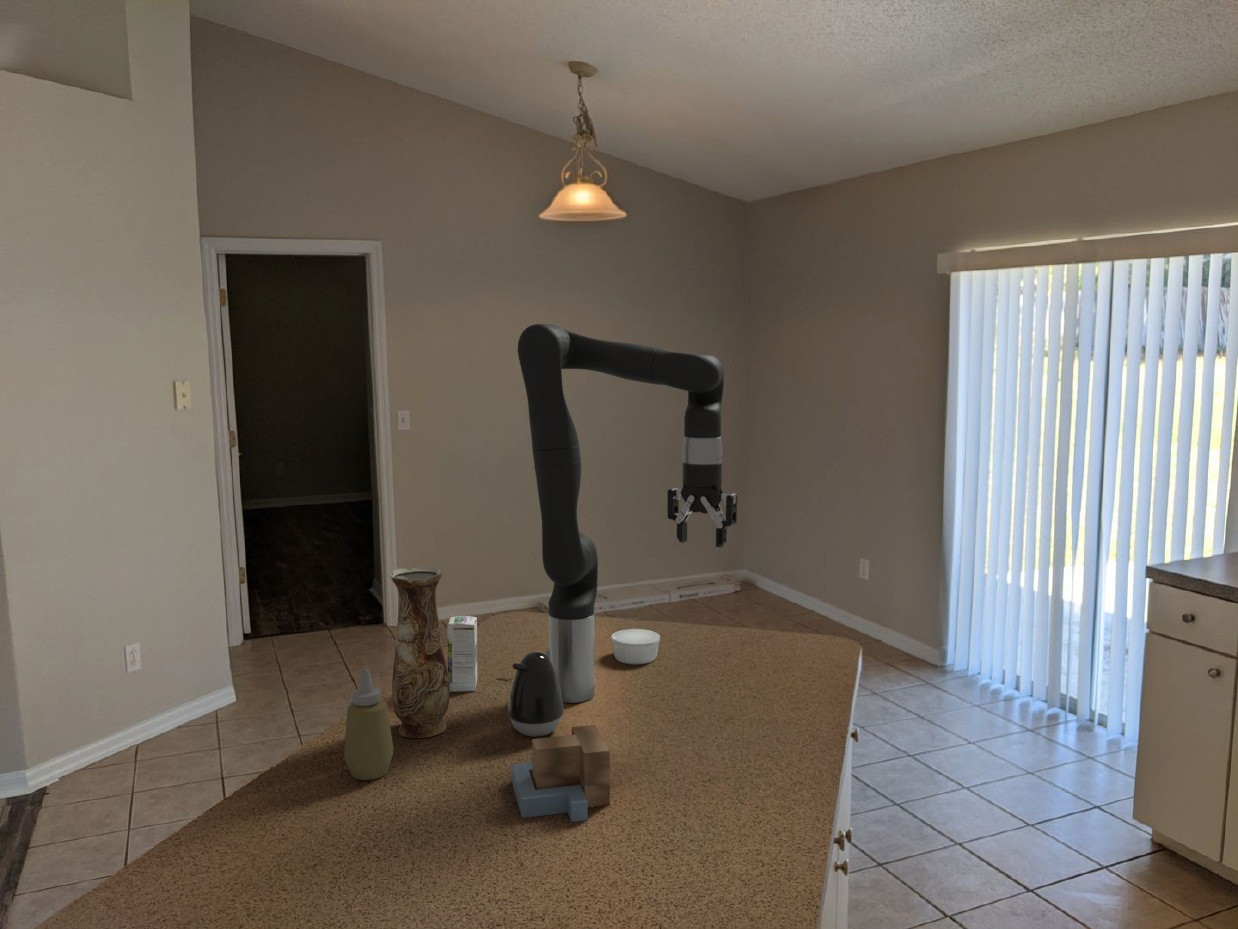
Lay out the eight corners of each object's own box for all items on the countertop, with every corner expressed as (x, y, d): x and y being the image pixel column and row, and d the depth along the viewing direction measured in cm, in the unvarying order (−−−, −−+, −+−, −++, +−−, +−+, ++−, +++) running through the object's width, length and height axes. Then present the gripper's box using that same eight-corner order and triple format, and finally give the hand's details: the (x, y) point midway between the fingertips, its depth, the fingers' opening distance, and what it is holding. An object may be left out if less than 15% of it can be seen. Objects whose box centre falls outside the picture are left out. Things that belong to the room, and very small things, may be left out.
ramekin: (614, 649, 219) (614, 627, 218) (662, 651, 217) (662, 629, 216) (607, 665, 208) (607, 642, 207) (657, 668, 206) (657, 645, 205)
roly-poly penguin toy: (496, 732, 173) (495, 653, 170) (538, 715, 180) (537, 639, 178) (533, 748, 166) (532, 666, 164) (575, 730, 173) (574, 651, 171)
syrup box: (450, 682, 197) (448, 616, 195) (478, 681, 198) (477, 615, 196) (447, 692, 192) (445, 624, 190) (476, 691, 192) (475, 623, 190)
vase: (399, 744, 167) (393, 582, 163) (388, 722, 177) (383, 568, 173) (456, 734, 171) (452, 576, 167) (443, 713, 181) (438, 563, 177)
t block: (595, 776, 155) (595, 724, 154) (609, 805, 146) (609, 750, 145) (530, 783, 153) (529, 731, 151) (540, 814, 143) (539, 758, 142)
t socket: (565, 767, 158) (565, 750, 158) (587, 820, 141) (587, 801, 141) (509, 773, 156) (508, 756, 156) (524, 828, 139) (524, 809, 138)
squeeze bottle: (403, 766, 159) (400, 665, 156) (376, 788, 151) (372, 682, 149) (363, 759, 161) (359, 659, 159) (334, 780, 154) (330, 676, 151)
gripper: (659, 459, 178) (659, 543, 180) (728, 465, 171) (727, 552, 173) (678, 455, 184) (677, 536, 187) (744, 460, 177) (743, 544, 179)
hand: (701, 544), depth 180 cm, fingers open, 7 cm apart
